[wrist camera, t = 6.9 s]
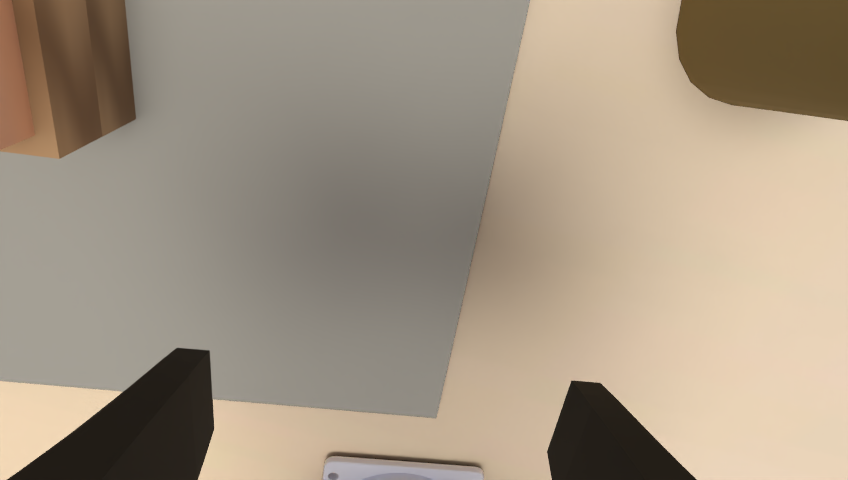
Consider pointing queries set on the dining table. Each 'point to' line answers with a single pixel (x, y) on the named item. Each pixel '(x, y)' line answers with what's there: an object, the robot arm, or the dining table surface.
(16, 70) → the cube
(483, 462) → the dining table surface
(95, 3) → the tower bottom
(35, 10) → the tower top
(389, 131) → the mat
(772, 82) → the olive pawn
